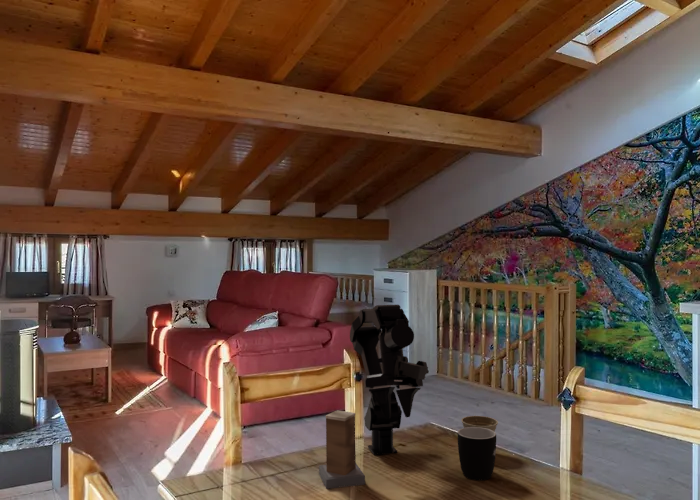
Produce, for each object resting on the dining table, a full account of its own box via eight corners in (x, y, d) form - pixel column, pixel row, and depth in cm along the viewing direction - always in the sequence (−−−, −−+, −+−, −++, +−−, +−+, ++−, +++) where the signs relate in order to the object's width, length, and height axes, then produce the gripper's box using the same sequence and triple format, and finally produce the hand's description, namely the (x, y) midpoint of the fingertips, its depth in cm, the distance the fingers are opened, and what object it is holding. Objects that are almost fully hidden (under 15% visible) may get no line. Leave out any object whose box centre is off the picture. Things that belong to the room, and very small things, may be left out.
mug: (499, 483, 130) (499, 439, 130) (460, 482, 131) (459, 438, 131) (491, 464, 142) (490, 423, 142) (454, 463, 143) (454, 423, 143)
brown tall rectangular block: (337, 464, 137) (336, 410, 137) (355, 468, 135) (355, 412, 135) (326, 471, 133) (325, 415, 133) (345, 475, 130) (344, 418, 130)
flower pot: (501, 450, 152) (501, 417, 152) (494, 462, 144) (494, 427, 144) (466, 445, 156) (466, 414, 156) (457, 456, 148) (457, 423, 148)
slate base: (318, 473, 137) (318, 464, 137) (355, 470, 139) (355, 461, 139) (326, 488, 128) (326, 479, 128) (364, 484, 130) (364, 474, 130)
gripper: (400, 346, 132) (407, 415, 128) (437, 351, 147) (445, 413, 142) (360, 353, 138) (366, 420, 134) (400, 357, 153) (406, 417, 148)
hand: (398, 417), depth 139 cm, fingers open, 9 cm apart
